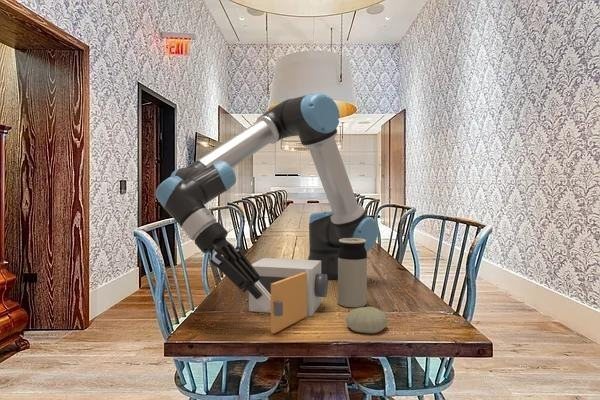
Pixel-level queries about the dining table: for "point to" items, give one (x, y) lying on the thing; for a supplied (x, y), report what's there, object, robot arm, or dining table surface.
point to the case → (286, 268)
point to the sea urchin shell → (366, 320)
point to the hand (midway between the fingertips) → (271, 306)
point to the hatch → (288, 301)
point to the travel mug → (352, 273)
